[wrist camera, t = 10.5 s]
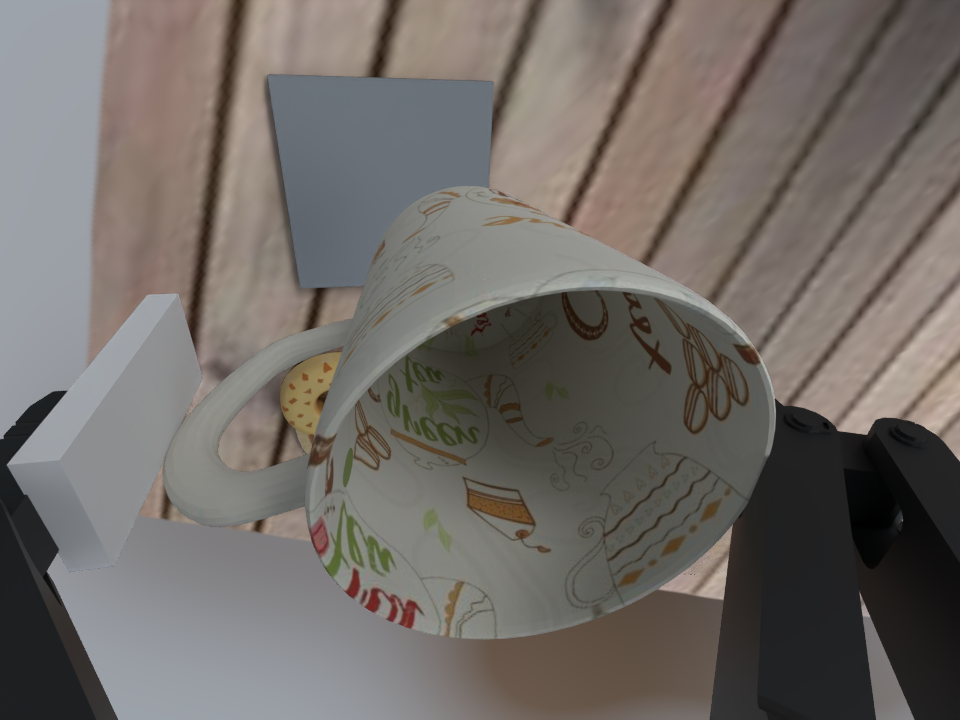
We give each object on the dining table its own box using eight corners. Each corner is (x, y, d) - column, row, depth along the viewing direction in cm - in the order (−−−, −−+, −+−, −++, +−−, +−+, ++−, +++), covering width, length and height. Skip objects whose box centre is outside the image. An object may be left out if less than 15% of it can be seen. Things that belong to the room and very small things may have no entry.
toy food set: (268, 345, 33) (259, 373, 31) (472, 309, 34) (481, 333, 32) (324, 491, 41) (321, 524, 38) (491, 457, 42) (499, 486, 39)
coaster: (269, 74, 25) (267, 75, 25) (491, 81, 27) (493, 82, 27) (301, 284, 31) (300, 288, 31) (482, 277, 33) (484, 281, 33)
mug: (599, 338, 20) (768, 562, 11) (284, 444, 20) (224, 747, 11) (560, 104, 15) (796, 197, 7) (148, 242, 15) (-120, 505, 7)
